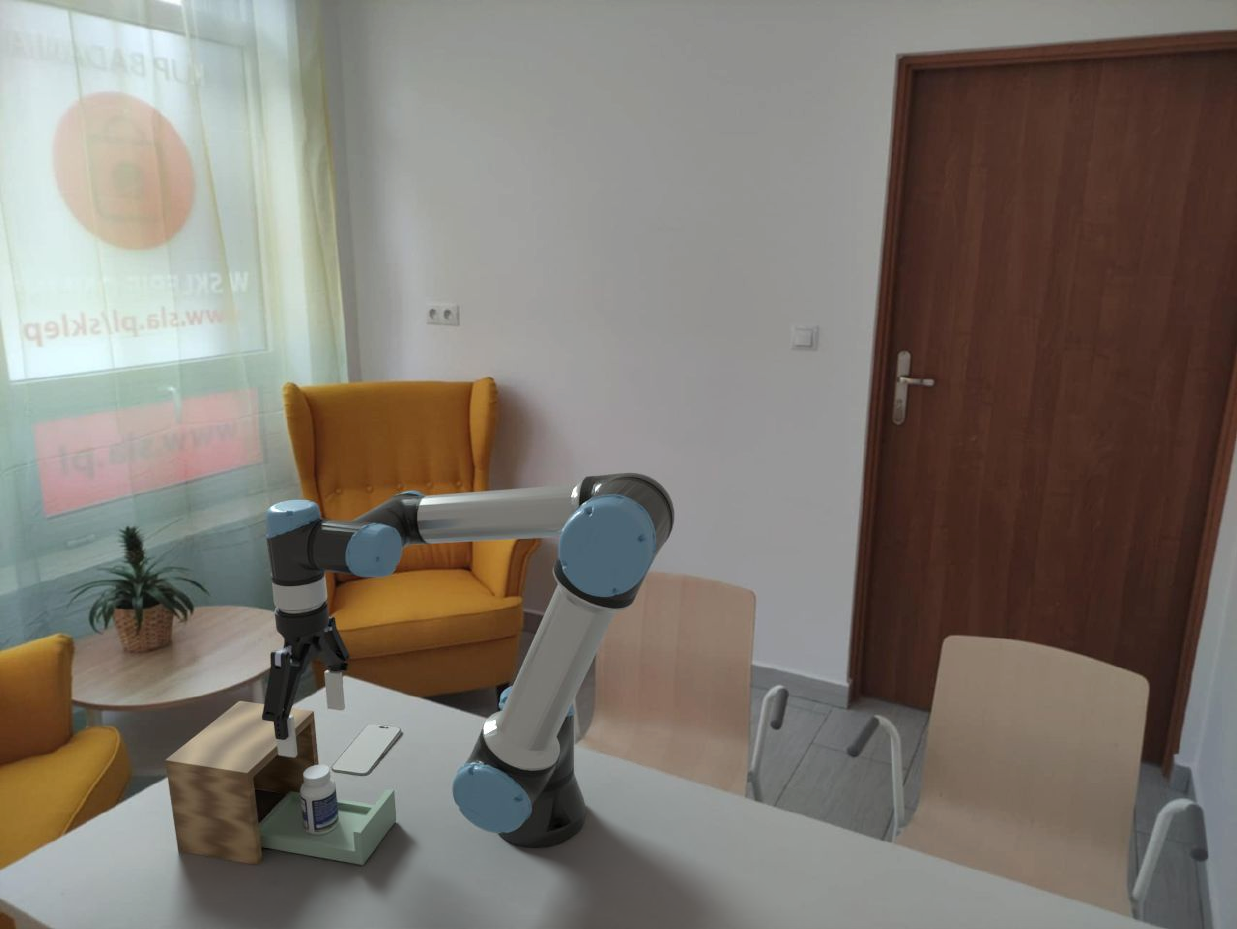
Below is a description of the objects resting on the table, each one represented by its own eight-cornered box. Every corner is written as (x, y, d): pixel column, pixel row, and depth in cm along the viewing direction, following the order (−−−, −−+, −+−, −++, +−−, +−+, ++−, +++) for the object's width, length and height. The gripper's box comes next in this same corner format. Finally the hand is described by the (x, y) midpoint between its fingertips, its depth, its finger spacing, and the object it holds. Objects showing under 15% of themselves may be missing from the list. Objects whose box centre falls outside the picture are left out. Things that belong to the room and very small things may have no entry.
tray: (396, 820, 147) (394, 789, 146) (363, 865, 137) (360, 832, 136) (291, 802, 152) (288, 773, 150) (251, 845, 141) (247, 813, 140)
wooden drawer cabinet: (321, 794, 154) (313, 711, 150) (257, 865, 137) (247, 773, 133) (249, 783, 157) (239, 700, 153) (178, 850, 140) (165, 760, 136)
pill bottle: (345, 817, 146) (340, 764, 144) (328, 838, 141) (323, 783, 139) (314, 812, 147) (309, 759, 145) (297, 833, 142) (291, 779, 140)
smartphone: (328, 769, 161) (367, 723, 175) (329, 774, 161) (368, 728, 175) (366, 774, 159) (403, 727, 174) (367, 780, 160) (403, 732, 174)
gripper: (323, 571, 147) (333, 688, 152) (225, 637, 123) (241, 773, 129) (365, 575, 145) (374, 694, 151) (273, 642, 122) (288, 780, 127)
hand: (313, 731), depth 140 cm, fingers open, 13 cm apart
